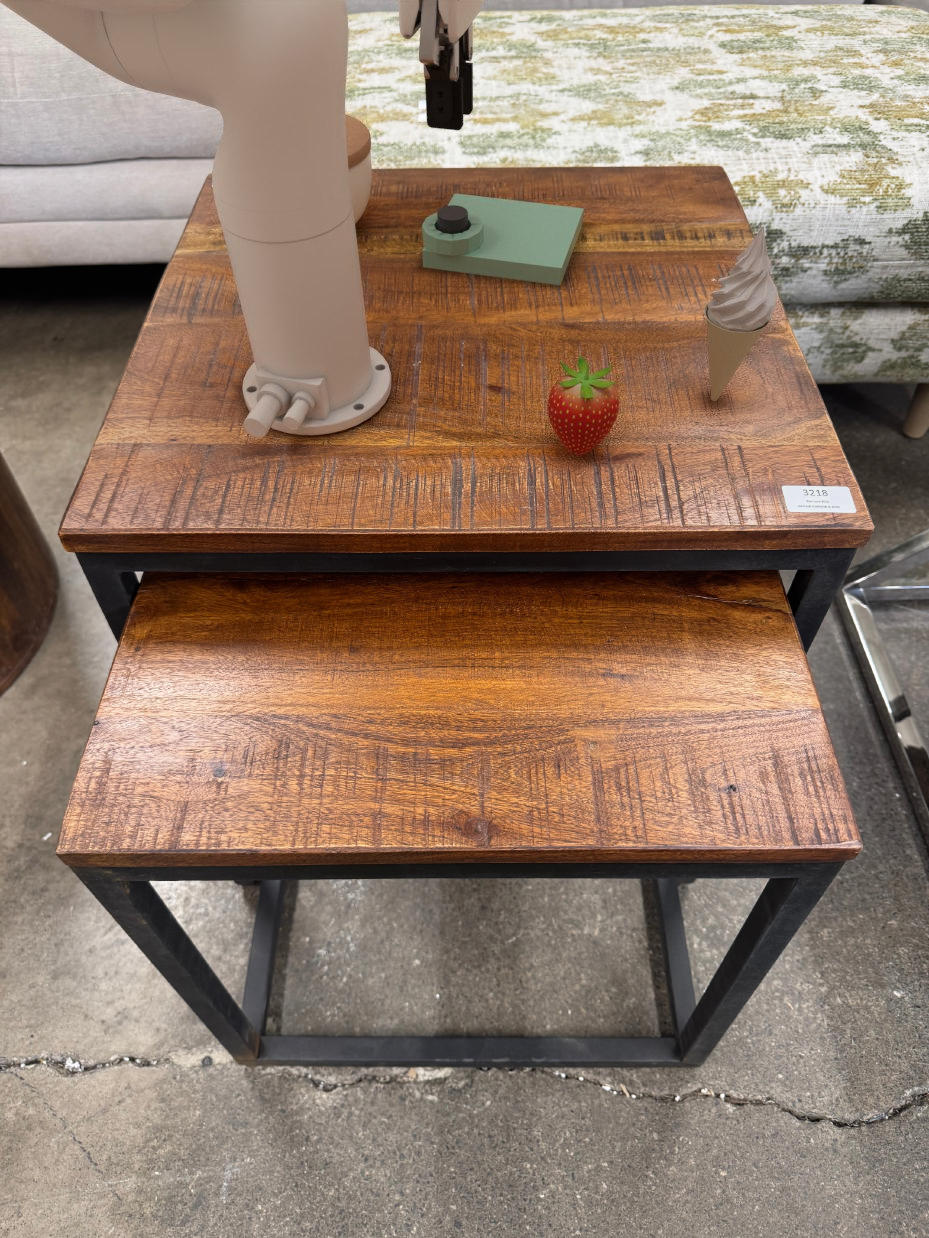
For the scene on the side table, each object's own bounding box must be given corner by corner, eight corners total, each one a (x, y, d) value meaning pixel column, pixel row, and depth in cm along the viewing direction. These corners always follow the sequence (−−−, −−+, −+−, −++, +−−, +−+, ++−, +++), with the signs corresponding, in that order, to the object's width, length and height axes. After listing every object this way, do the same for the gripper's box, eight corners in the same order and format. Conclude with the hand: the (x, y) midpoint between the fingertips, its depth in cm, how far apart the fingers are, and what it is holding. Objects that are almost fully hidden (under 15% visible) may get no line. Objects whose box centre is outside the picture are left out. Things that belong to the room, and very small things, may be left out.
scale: (559, 288, 82) (562, 254, 79) (417, 269, 84) (415, 235, 82) (582, 226, 89) (585, 192, 87) (450, 210, 92) (450, 177, 89)
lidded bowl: (271, 199, 94) (250, 88, 85) (384, 199, 93) (374, 89, 85) (249, 258, 86) (223, 144, 77) (372, 259, 86) (360, 144, 77)
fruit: (543, 469, 66) (550, 384, 60) (544, 426, 69) (551, 341, 63) (613, 472, 66) (627, 387, 60) (610, 428, 69) (623, 343, 63)
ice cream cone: (734, 425, 69) (787, 250, 57) (675, 407, 71) (715, 232, 59) (752, 391, 72) (807, 217, 60) (695, 374, 73) (737, 201, 62)
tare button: (463, 237, 82) (463, 221, 81) (433, 233, 83) (433, 218, 81) (471, 222, 84) (471, 207, 83) (442, 219, 84) (441, 203, 83)
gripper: (426, -181, 66) (435, 81, 81) (356, -131, 57) (381, 155, 71) (519, -177, 65) (511, 88, 80) (464, -126, 56) (467, 165, 70)
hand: (450, 118), depth 75 cm, fingers closed
